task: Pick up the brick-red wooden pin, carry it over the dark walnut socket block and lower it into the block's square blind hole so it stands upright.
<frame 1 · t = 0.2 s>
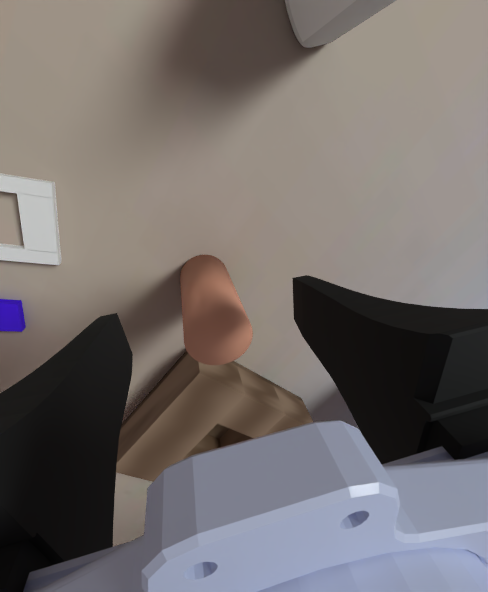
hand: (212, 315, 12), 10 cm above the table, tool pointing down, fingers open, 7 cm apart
pin: (204, 277, 22), on the table
socket block: (215, 412, 29), on the table
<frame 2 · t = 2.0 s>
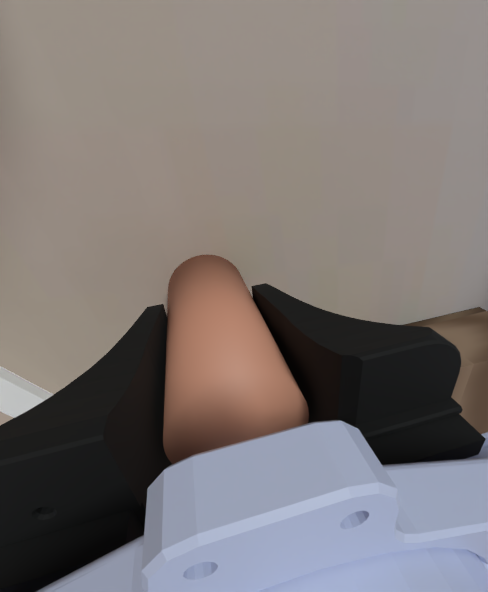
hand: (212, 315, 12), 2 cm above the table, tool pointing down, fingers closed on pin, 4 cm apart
pin: (206, 290, 14), on the table, touching gripper
socket block: (371, 398, 21), on the table
when the fingers open (5 cm above the table, at t = 6.1 s): pin drops 2 cm, resting on socket block.
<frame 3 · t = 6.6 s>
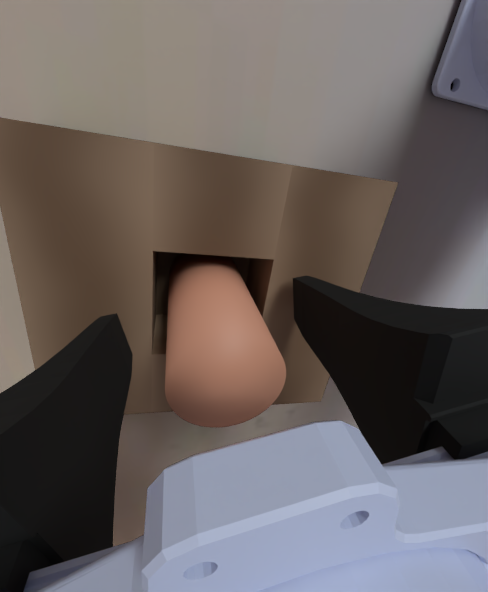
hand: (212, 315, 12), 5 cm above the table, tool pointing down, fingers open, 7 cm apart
pin: (203, 277, 15), point 1 cm above the table, touching socket block
socket block: (202, 273, 16), on the table
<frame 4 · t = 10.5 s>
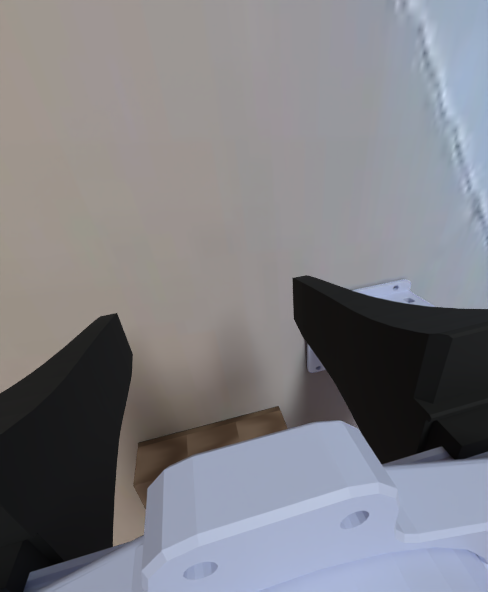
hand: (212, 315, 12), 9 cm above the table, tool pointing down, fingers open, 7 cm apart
socket block: (219, 460, 31), on the table
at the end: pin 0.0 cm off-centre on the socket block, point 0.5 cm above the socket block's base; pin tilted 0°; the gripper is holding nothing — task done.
